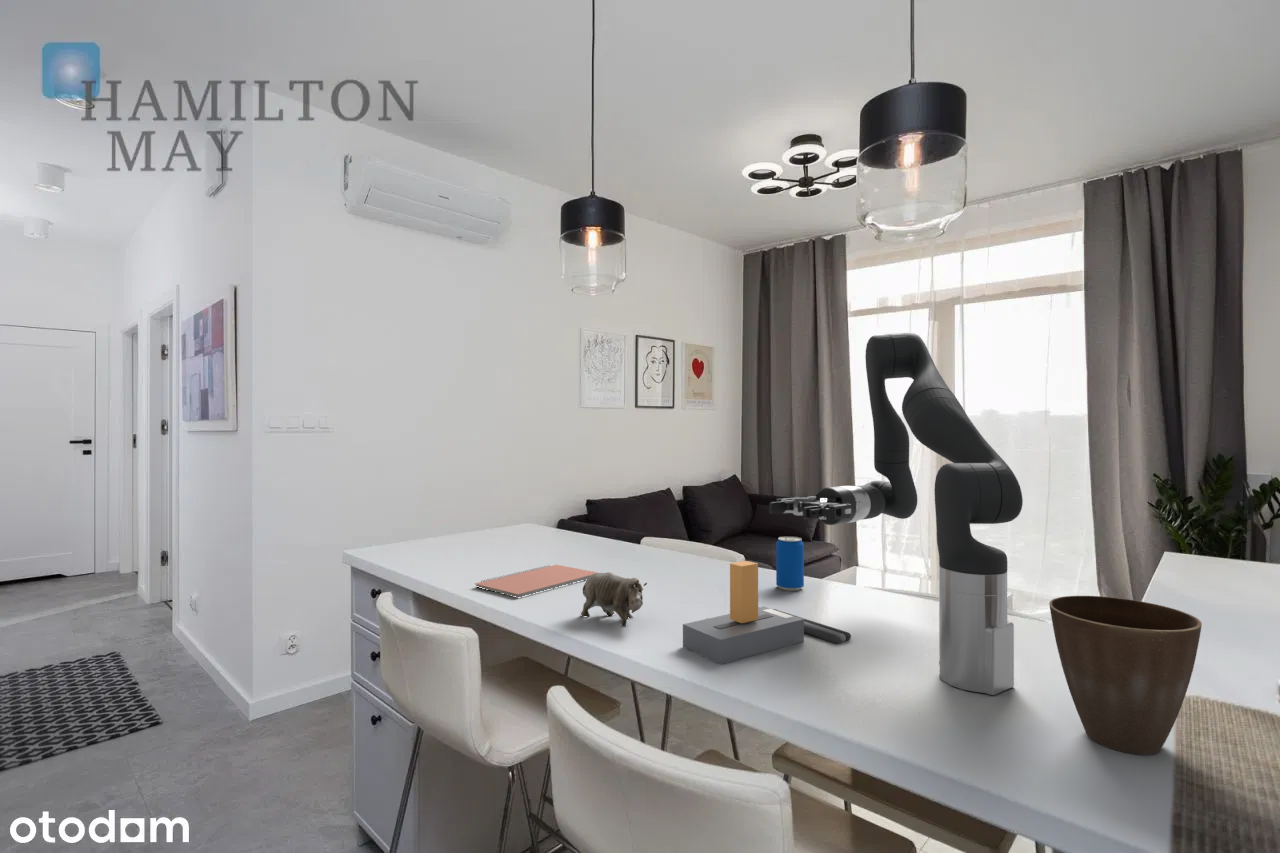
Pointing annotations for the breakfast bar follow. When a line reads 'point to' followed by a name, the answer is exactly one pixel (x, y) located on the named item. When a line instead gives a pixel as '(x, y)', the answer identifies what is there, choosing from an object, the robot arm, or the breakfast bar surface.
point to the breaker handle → (743, 591)
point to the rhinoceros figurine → (613, 594)
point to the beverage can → (790, 563)
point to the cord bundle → (824, 631)
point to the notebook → (535, 580)
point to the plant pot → (1125, 667)
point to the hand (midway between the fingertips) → (786, 510)
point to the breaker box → (742, 635)
